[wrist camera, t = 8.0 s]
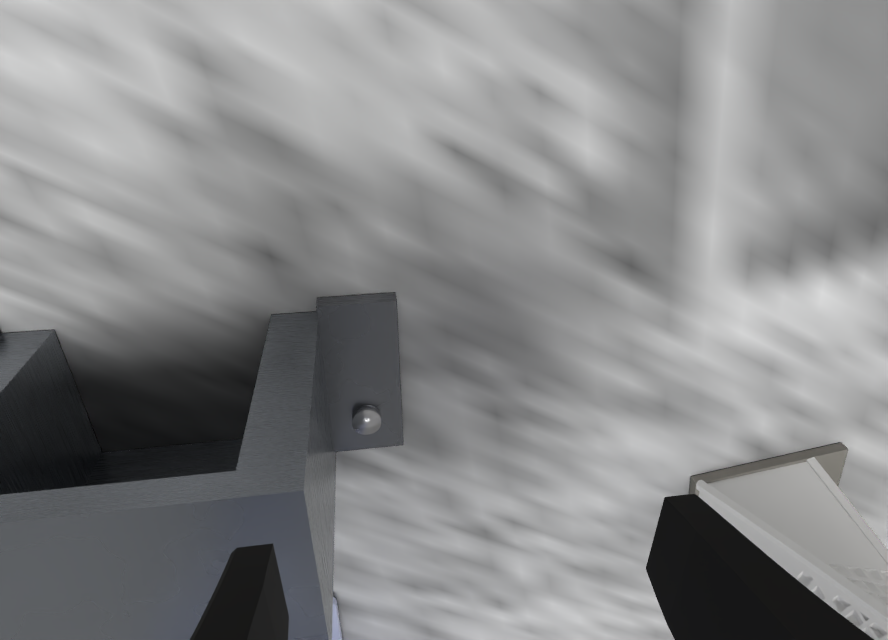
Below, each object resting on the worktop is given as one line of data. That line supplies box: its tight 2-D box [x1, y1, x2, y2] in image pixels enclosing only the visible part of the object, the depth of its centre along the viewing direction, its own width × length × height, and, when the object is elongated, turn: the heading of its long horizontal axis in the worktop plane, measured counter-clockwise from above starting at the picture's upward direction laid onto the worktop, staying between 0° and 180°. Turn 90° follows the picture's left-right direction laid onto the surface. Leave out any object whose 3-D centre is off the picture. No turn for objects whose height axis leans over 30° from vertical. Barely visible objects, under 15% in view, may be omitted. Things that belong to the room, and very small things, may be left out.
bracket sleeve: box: [0, 293, 403, 640], centre depth 16 cm, size 6×14×8 cm, turn 90°
